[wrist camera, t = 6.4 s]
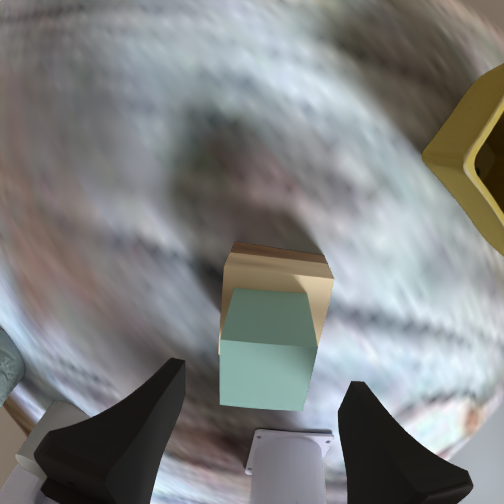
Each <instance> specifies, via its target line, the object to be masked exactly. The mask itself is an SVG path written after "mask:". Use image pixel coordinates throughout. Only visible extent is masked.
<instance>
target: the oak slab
mask: <svg viewBox="0 0 504 504" xmlns="http://www.w3.org/2000/svg"><path fill="white" fill-rule="evenodd" d="M333 283H334V277H333V275H332V272H331V270H330V268H329V265H328V264H325V263H316V262H308V261H300V260H291V259H283V258H274V257H266V256H258V255H249V254H241V253H233V252H230V253H229V256H228V258H227V260H226V263H225V265H224V274H223V288H222V303H221V318H220V334H219V351H218V354H220V337H221V334H222V330H223V327H224V323H225V320H226V316H227V313H228V309H229V305H230V302H231V298H232V295H233V291H234V288H244V289H256V290H268V291H280V292H294V293H307V295H308V300H309V304H310V309H311V314H312V319H313V324H314V329H315V334H316V339H317V345H319V341H320V337H321V333H322V330H323V326H324V322H325V318H326V313H327V309H328V305H329V301H330V297H331V292H332V288H333Z"/></svg>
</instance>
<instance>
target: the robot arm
mask: <svg viewBox="0 0 504 504" xmlns="http://www.w3.org/2000/svg"><path fill="white" fill-rule="evenodd" d="M184 396H185V360H180V359H176V358H170V359H169V360H168V361H167V362H166V363H165V364H164V365H163V366H162V367H161V368H160V369H159V370H158V371H157V372H156V373H155V374H154V375H153V376H152V377H151V378H150V379H148V380H147V381H146V382H145V383H144V384H143V385H142V386H140V387H139V388H138V389H137V390H135V391H134V392H133V393H131V394H130V395H129V396H127V397H126V398H125V399H123V400H122V401H120V402H119V403H117V404H116V405H114V406H112V407H111V408H109V409H107V410H105V411H103V412H101V413H100V414H98V415H96V416H93V417H91V418H89V419H86V420H84V421H81V422H79V423H76V424H73V425H70V426H67V427H63V428H59V429H55V430H51V431H49V432H48V433H47V434H46V435H45V436H44V438H43V439H42V441H41V442H40V444H39V445H38V447H37V448H36V450H35V451H34V453H33V454H34V459H35V460H36V462H37V464H38V465H39V466H40V468H41V469H42V470H43V472H44V473H45V474H46V476H47V479H46V480H45V482H44V481H43V480H42V479H40V478H39V477H37V476H36V475H34V474H32V473H31V472H29V471H27V470H26V469H24V468H23V467H21V466H19V465H16V467H15V468H14V470H13V471H12V473H11V474H10V476H9V478H8V479H7V481H6V482H5V484H4V486H3V487H2V489H1V491H0V504H150V500H151V496H152V491H153V487H154V483H155V480H156V476H157V472H158V468H159V465H160V461H161V458H162V455H163V452H164V450H165V447H166V445H167V442H168V440H169V438H170V435H171V433H172V431H173V428H174V426H175V423H176V421H177V419H178V416H179V414H180V411H181V407H182V404H183V400H184ZM338 427H339V435H340V441H341V446H342V451H343V457H344V462H345V468H346V475H347V504H457V503H459V502H460V501H461V500H462V499H463V498H465V497H466V496H467V495H468V494H469V493H470V492H471V490H472V489H473V483H472V480H471V478H470V475H469V473H468V471H467V470H464V469H462V468H460V467H458V466H455V465H453V464H451V463H449V462H447V461H446V460H444V459H442V458H440V457H439V456H437V455H435V454H434V453H432V452H431V451H430V450H428V449H427V448H425V447H424V446H423V445H421V444H420V443H419V442H418V441H416V440H415V439H414V438H413V437H412V436H411V435H410V434H408V433H407V432H406V431H405V430H404V429H403V428H402V427H401V426H400V425H399V423H398V422H397V421H396V420H395V419H394V418H393V417H392V416H391V415H390V414H389V412H388V411H387V410H386V409H385V408H384V406H383V405H382V404H381V403H380V401H379V400H378V399H377V397H376V396H375V395H374V394H373V392H372V391H371V390H370V389H369V387H368V386H367V385H366V383H365V382H360V381H351V383H350V385H349V388H348V390H347V392H346V395H345V397H344V399H343V401H342V403H341V406H340V408H339V410H338ZM333 440H334V435H333V434H321V433H300V432H286V431H274V430H265V429H257V430H256V431H255V434H254V438H253V442H252V446H251V450H250V454H249V458H248V461H247V465H246V469H245V473H246V474H249V475H252V481H251V491H250V501H249V504H327V503H326V490H325V478H324V467H323V457H324V456H325V454H326V452H327V451H328V449H329V447H330V445H331V443H332V442H333Z"/></svg>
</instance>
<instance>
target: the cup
mask: <svg viewBox="0 0 504 504" xmlns="http://www.w3.org/2000/svg"><path fill="white" fill-rule="evenodd" d="M89 418H90V417H89V416H88V415H87V414H86V413H84V412H83V411H81V410H80V409H78V408H77V407H75V406H73V405H71V404H68V403H66V402H63V401H54V402H53V403H52V404H51V406H50V407H49V408H48V410H47V411H46V412H45V414H44V415H43V417H42V418H41V419H40V421H39V422H38V423H37V425H36V426H35V428H34V429H33V431H32V432H31V433H30V435H29V436H28V438H27V439H26V441H25V442H24V444H23V445H22V447H21V448H20V450H19V451H18V452H17V454H16V456H15V457H16V459H17V461H18V462H19V464H20V465H21V466H22V467H23V468H24V469H26V470H27V471H29V472H31V473H32V474H34V475H36V476H37V477H39V478H40V479H42V480H43V481H44V482H45V480H46V479H47V476H46V474H45V473H44V472H43V470H42V469H41V468H40V466H39V465H38V464H37V462H36V460H35V459H34V454H33V453H34V451H35V450H36V448H37V447H38V445H39V444H40V442H41V441H42V439H43V438H44V436H45V435H46V434H47V433H48V432H49V431H51V430H55V429H59V428H63V427H67V426H70V425H73V424H76V423H79V422H81V421H84V420H86V419H89Z"/></svg>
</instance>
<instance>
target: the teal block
mask: <svg viewBox="0 0 504 504" xmlns="http://www.w3.org/2000/svg"><path fill="white" fill-rule="evenodd" d="M317 349H318V345H317V339H316V334H315V329H314V324H313V319H312V314H311V309H310V304H309V300H308V295H307V293H294V292H280V291H268V290H256V289H244V288H234V291H233V295H232V298H231V302H230V305H229V309H228V313H227V316H226V320H225V323H224V327H223V330H222V334H221V337H220V405H227V406H236V407H246V408H258V409H272V410H291V411H303V408H304V404H305V400H306V396H307V392H308V388H309V384H310V380H311V376H312V371H313V367H314V363H315V358H316V354H317Z"/></svg>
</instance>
